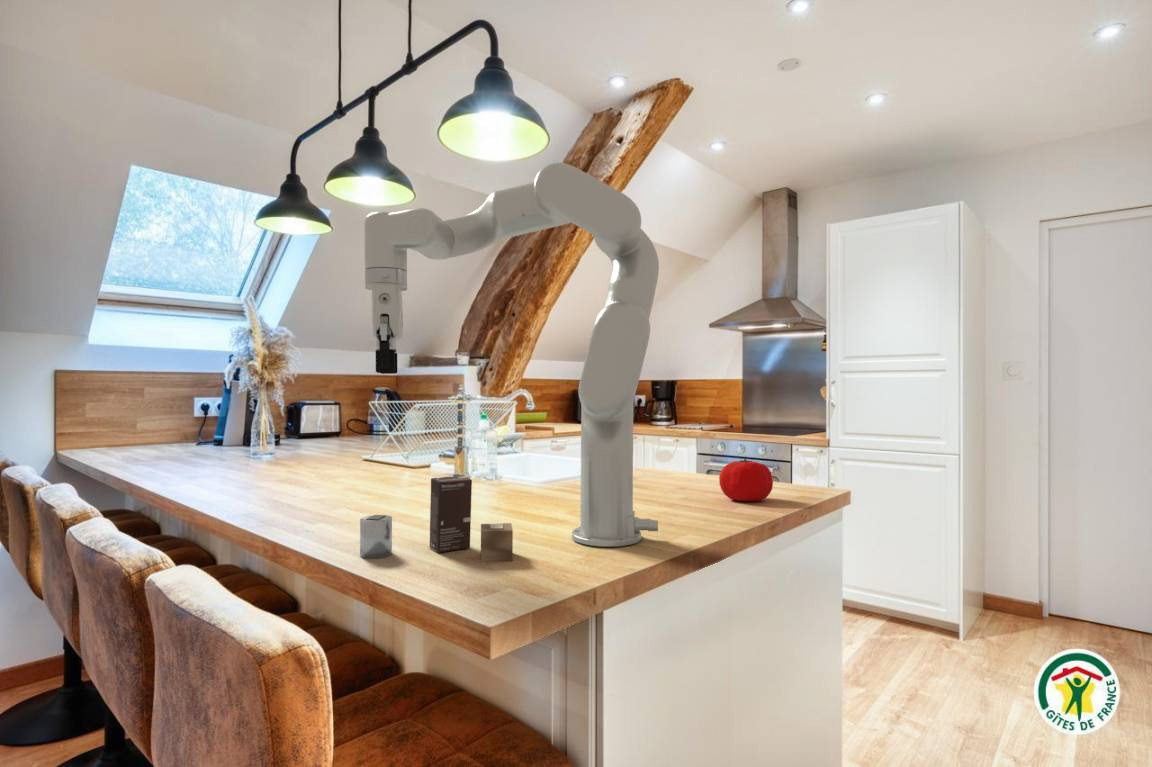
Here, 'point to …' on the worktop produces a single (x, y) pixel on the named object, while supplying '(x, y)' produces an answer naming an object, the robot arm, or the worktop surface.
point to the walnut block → (496, 542)
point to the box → (450, 513)
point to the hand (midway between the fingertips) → (387, 373)
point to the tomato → (746, 481)
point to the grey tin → (375, 536)
